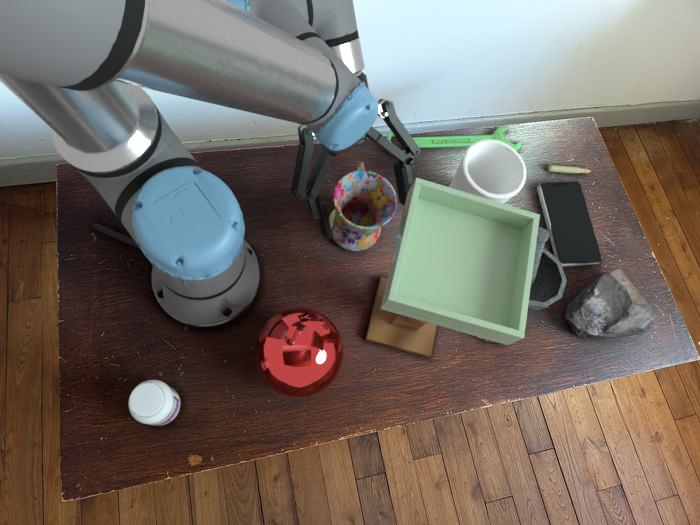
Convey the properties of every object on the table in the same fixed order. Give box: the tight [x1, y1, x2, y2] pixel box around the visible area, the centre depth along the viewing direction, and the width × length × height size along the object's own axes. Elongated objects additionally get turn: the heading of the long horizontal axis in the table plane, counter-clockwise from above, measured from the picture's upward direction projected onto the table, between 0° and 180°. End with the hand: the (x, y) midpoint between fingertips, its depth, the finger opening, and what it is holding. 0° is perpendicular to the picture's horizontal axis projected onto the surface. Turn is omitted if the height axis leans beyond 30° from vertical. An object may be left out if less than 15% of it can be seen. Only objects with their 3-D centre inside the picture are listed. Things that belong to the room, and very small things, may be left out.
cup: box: [448, 139, 527, 204], centre depth 84 cm, size 10×10×13 cm
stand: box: [364, 276, 438, 358], centre depth 71 cm, size 10×10×24 cm
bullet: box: [547, 164, 592, 175], centre depth 95 cm, size 1×1×8 cm
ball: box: [253, 306, 345, 399], centre depth 72 cm, size 12×12×12 cm
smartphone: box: [536, 180, 603, 268], centre depth 91 cm, size 8×1×15 cm
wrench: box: [385, 125, 523, 152], centre depth 93 cm, size 25×2×5 cm
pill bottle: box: [128, 379, 181, 427], centre depth 68 cm, size 5×5×10 cm
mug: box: [328, 161, 398, 252], centre depth 81 cm, size 12×9×11 cm
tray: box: [380, 177, 541, 346], centre depth 58 cm, size 14×14×4 cm
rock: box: [564, 267, 657, 339], centre depth 85 cm, size 14×11×5 cm
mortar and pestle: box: [528, 226, 568, 311], centre depth 81 cm, size 11×9×12 cm
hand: (367, 219), depth 81 cm, fingers open, 13 cm apart
